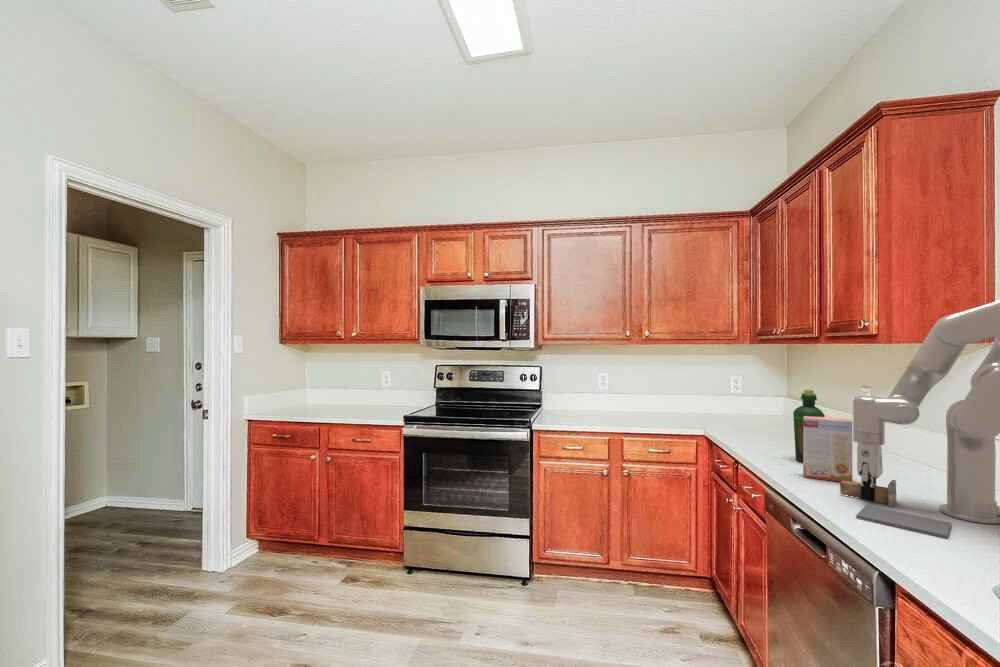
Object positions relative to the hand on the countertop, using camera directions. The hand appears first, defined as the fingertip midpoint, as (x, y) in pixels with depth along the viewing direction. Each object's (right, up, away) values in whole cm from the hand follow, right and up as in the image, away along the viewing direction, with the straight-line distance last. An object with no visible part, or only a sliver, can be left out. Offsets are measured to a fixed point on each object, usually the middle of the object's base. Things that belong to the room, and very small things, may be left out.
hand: (868, 498), depth 146 cm
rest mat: (-5, 0, -18) cm, 19 cm away
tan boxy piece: (0, 0, 0) cm, 0 cm away
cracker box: (+2, -1, +21) cm, 21 cm away
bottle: (+10, -1, +44) cm, 46 cm away
